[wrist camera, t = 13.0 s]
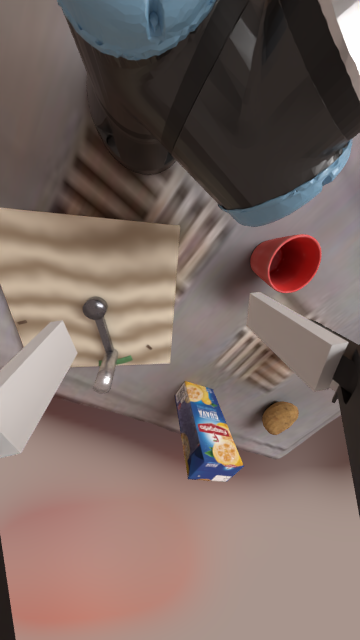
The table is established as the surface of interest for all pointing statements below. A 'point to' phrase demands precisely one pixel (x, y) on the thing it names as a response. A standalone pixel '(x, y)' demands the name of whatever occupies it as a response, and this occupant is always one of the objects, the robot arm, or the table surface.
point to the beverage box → (205, 435)
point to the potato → (279, 417)
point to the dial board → (91, 281)
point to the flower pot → (287, 262)
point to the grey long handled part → (96, 311)
